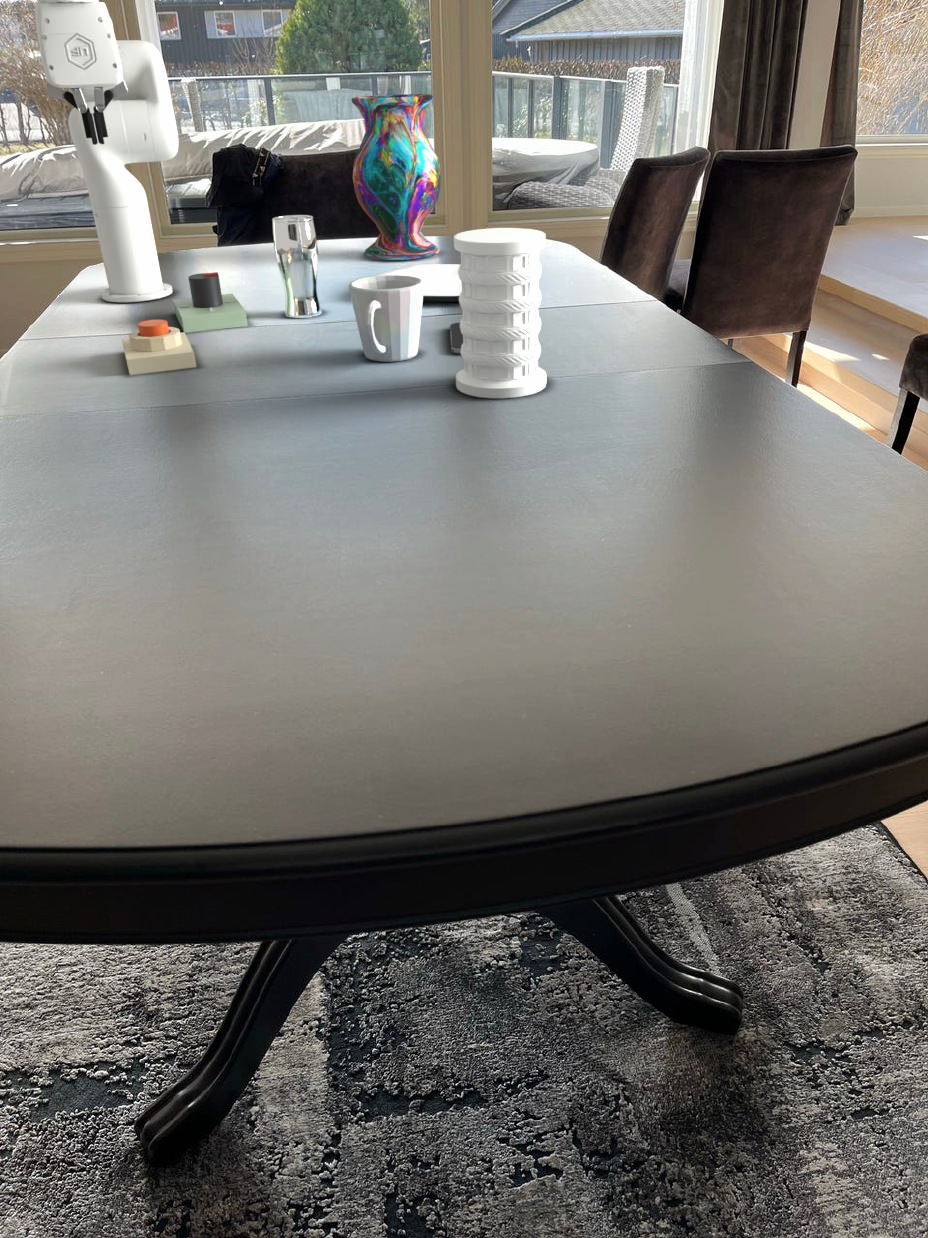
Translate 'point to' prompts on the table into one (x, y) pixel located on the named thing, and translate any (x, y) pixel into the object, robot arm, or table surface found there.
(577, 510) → the table surface
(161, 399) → the table surface
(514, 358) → the decorative container
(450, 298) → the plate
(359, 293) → the mug
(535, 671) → the table surface
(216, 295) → the dial
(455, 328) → the smartphone
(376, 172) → the vase
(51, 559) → the table surface
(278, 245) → the beer glass
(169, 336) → the button block
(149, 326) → the button
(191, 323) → the dial panel
